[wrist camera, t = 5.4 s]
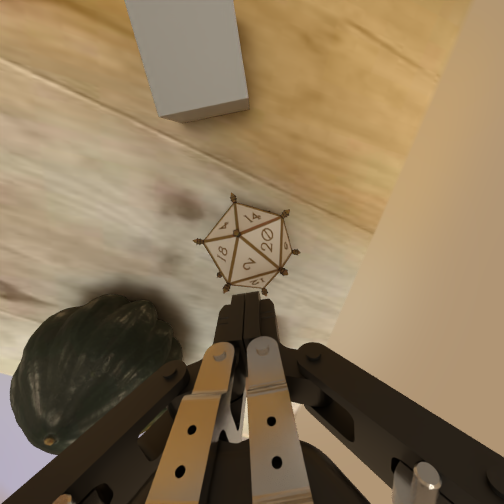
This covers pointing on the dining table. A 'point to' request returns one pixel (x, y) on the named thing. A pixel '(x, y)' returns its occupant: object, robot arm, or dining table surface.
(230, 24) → the slate cube
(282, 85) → the dining table surface
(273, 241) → the game die
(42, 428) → the squash
